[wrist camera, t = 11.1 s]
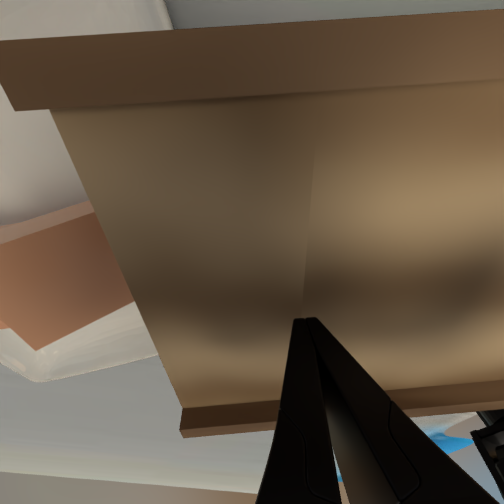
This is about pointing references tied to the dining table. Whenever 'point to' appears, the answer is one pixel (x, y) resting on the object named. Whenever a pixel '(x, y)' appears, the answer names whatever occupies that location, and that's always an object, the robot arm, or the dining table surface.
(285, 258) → the tan wooden box
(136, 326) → the salad plate
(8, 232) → the tile
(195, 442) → the dining table surface
